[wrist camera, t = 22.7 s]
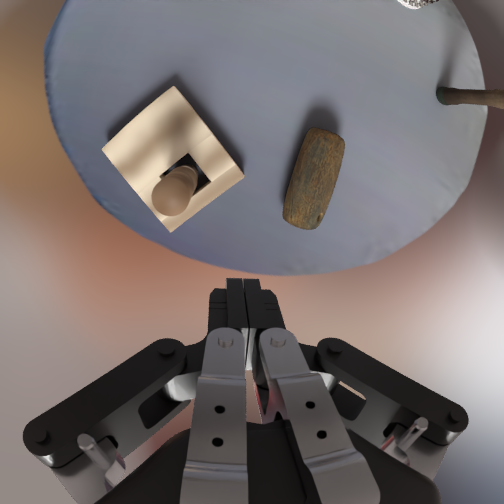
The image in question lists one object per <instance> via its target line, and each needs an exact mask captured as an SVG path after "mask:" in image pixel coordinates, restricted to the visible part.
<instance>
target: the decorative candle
mask: <svg viewBox="0 0 504 504" xmlns="http://www.w3.org/2000/svg"><path fill="white" fill-rule="evenodd" d="M397 1H399V2H400V3H401V4H402V5H404V6H406V7H408V8H411V9H418V8H421V7H423V4H424V5H426V6H427V5H428V4H427V3H429V4H431V3H433V2H435V1H439V0H397Z"/></svg>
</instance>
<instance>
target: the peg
mask: <svg viewBox="0 0 504 504" xmlns="http://www.w3.org/2000/svg"><path fill="white" fill-rule="evenodd" d="M197 180H198V171H197V169H196V168H195V167H194V166H193V165H190V164H184V165H181V166H180V167H177V168H175V169H173V170H172V171H171V172H170V173H169V174H167V175H166V176H165V177H164V178H163V179H162V180H161V181H159V182H158V183H157V184H156V185H155V187H154V188H153V191H152V195H151V199H152V203H153V206H154V208H155V209H156V210H157V211H158V212H159V213H161V214H163V215H165V216H177V215H179V214H181V213H182V212H184V211H185V209H186V208H187V206H188V204H189V202H190V200H191V197H192V195H193V193H194V191H195V189H196V186H197Z"/></svg>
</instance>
